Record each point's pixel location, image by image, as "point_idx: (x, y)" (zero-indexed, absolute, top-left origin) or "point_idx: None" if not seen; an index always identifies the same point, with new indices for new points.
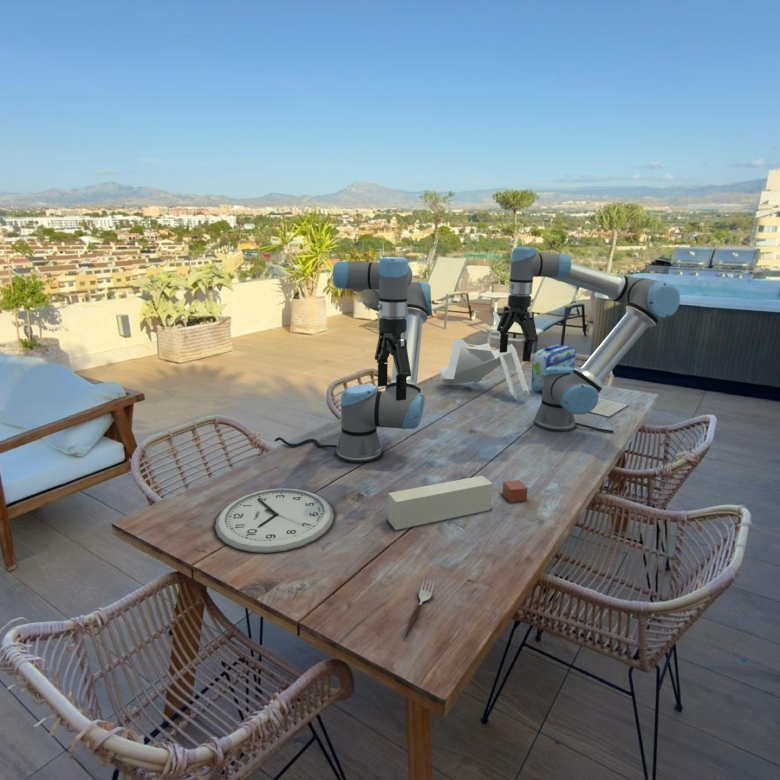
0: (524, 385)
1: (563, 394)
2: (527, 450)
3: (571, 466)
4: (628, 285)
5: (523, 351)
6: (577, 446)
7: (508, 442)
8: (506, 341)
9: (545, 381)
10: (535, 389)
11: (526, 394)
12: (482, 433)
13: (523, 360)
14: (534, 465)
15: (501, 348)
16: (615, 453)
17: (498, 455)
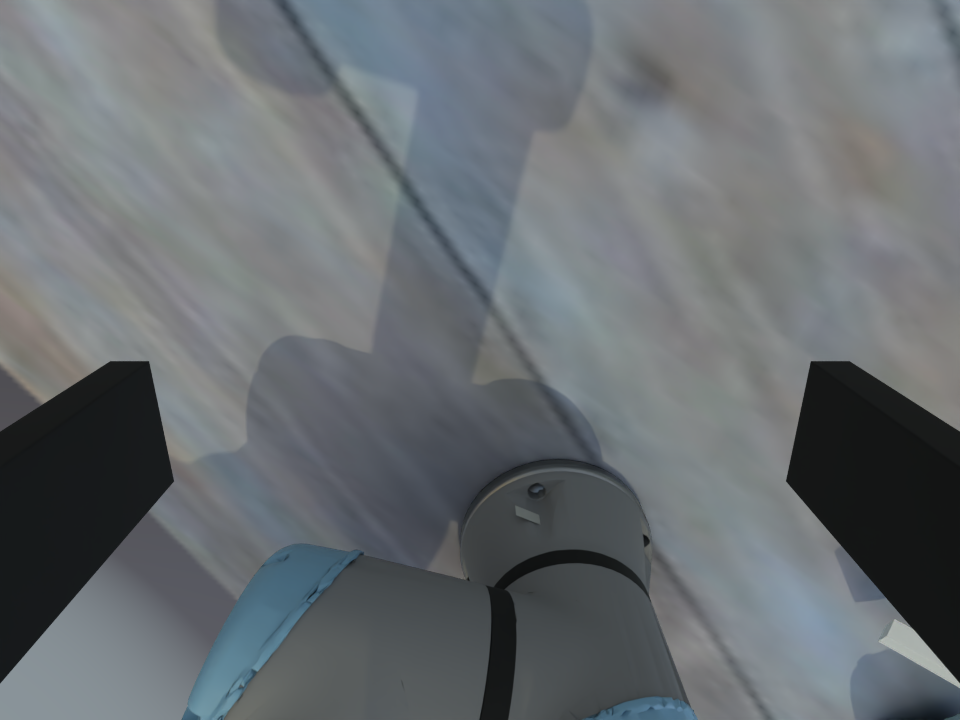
0: (923, 654)
1: (307, 594)
2: (312, 225)
3: (101, 307)
4: None
5: (19, 446)
6: (295, 469)
7: (433, 192)
8: (920, 593)
9: (617, 663)
10: (948, 718)
11: (886, 627)
12: (597, 124)
13: (106, 369)
14: (138, 144)
15: (853, 406)
16: (193, 555)
17: (292, 28)
